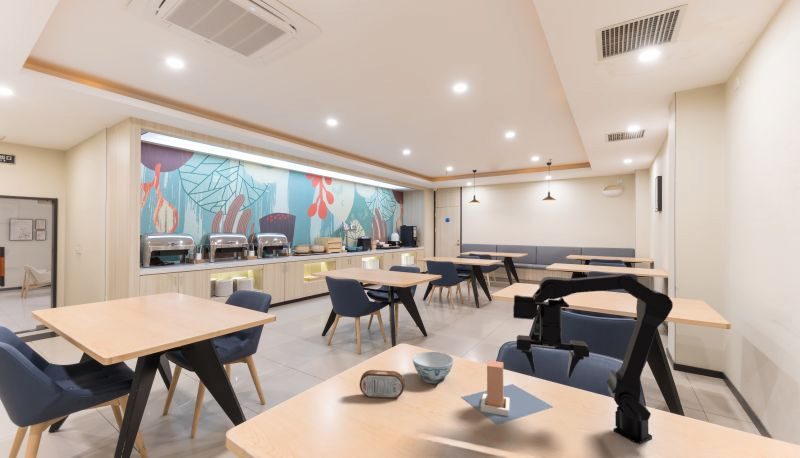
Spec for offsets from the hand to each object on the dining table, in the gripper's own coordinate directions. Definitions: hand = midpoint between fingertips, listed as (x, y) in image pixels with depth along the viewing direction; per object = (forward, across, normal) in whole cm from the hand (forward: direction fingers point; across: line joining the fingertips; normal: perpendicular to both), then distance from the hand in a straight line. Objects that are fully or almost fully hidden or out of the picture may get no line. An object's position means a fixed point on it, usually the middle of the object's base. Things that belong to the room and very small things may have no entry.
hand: (551, 375), depth 95 cm
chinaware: (+13, +39, -15) cm, 44 cm away
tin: (+13, +52, +4) cm, 53 cm away
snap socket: (+12, +16, 0) cm, 19 cm away
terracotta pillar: (+12, +16, 0) cm, 19 cm away
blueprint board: (+13, +13, -4) cm, 19 cm away
